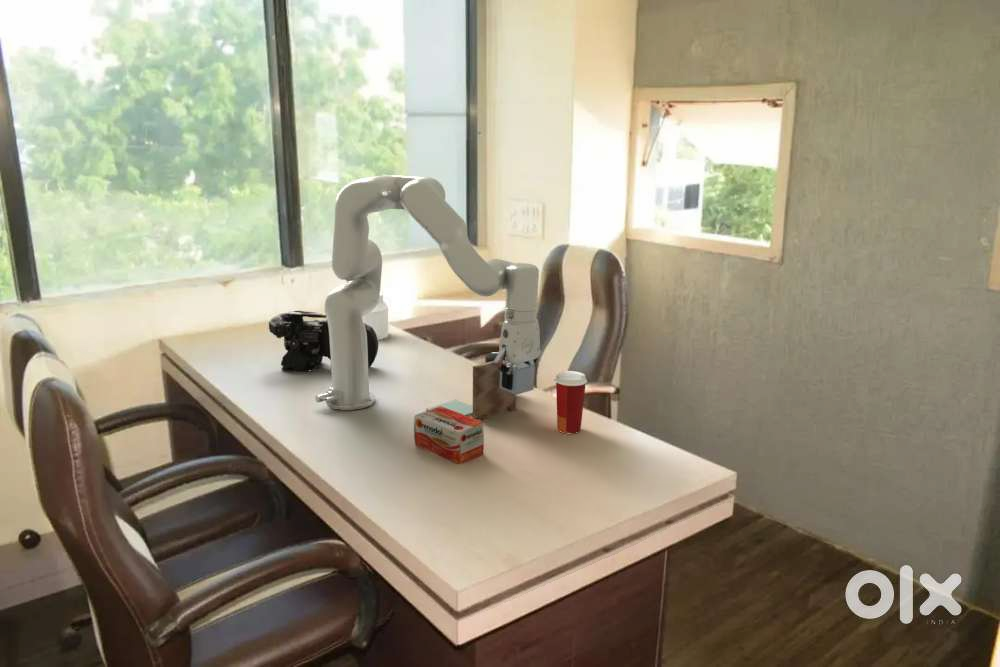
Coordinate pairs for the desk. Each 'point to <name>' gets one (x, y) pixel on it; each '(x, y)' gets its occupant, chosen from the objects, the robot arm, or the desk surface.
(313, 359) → the movie camera
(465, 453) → the medicine box
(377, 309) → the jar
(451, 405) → the pad
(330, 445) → the desk surface
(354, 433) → the desk surface
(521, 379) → the letter cube
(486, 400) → the screen
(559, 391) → the paper cup
